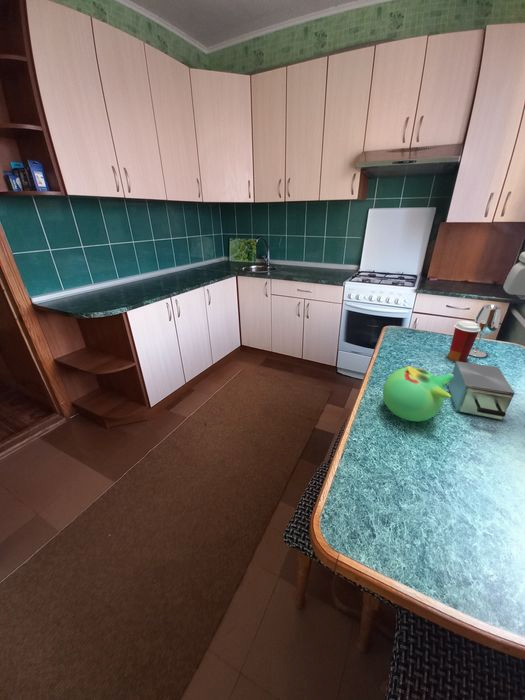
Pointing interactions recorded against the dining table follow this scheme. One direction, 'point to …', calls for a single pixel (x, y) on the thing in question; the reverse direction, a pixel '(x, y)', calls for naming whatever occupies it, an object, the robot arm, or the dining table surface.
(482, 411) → the drawer
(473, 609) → the dining table surface
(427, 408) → the toy bird
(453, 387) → the grey drawer cabinet
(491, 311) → the wineglass
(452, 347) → the coffee cup
